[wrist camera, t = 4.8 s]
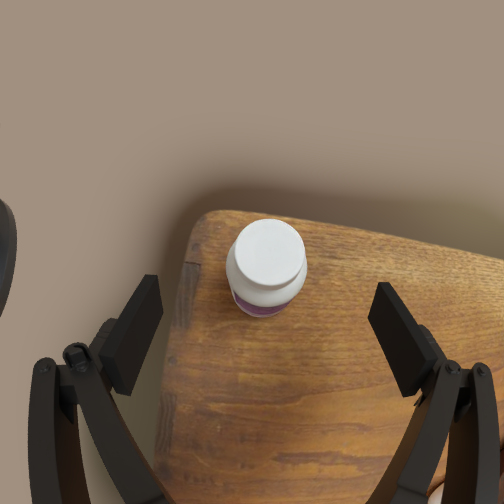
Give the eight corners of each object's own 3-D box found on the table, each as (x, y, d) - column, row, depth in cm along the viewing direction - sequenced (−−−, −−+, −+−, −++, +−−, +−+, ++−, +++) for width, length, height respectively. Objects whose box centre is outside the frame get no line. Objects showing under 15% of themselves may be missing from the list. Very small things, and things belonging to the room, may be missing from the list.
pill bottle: (303, 297, 24) (336, 266, 15) (252, 329, 23) (255, 318, 14) (270, 247, 26) (283, 192, 17) (220, 277, 25) (204, 235, 16)
